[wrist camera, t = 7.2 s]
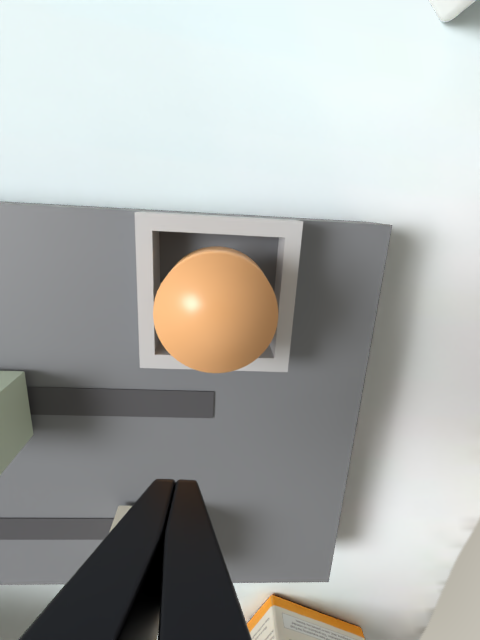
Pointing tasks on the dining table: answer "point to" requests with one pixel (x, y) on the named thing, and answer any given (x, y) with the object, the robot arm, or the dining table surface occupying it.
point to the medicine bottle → (449, 8)
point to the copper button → (215, 310)
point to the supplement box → (298, 623)
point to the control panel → (180, 385)
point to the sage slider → (13, 416)
